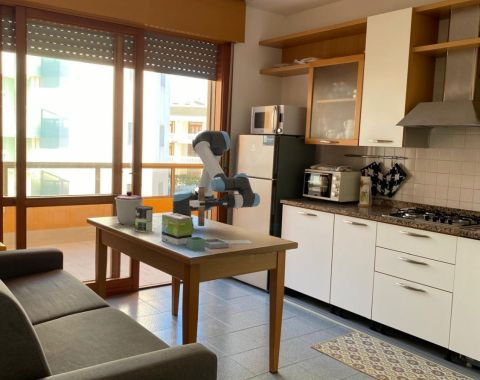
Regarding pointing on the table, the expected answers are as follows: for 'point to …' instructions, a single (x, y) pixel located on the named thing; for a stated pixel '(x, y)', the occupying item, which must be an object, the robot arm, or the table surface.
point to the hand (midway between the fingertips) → (191, 203)
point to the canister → (127, 207)
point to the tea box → (176, 228)
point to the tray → (215, 243)
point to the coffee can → (143, 218)
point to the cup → (195, 243)
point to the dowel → (201, 209)
